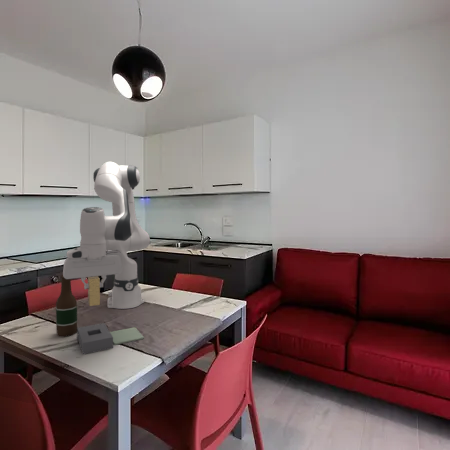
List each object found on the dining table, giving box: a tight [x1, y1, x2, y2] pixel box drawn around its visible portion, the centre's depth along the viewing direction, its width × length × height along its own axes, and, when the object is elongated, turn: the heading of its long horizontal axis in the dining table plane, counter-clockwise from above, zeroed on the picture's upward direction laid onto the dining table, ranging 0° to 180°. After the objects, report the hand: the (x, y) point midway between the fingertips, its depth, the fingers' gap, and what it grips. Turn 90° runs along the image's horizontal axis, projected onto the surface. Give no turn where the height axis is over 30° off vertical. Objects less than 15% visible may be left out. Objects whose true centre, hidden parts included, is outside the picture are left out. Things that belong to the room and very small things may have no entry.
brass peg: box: [87, 276, 101, 307], centre depth 117 cm, size 4×4×10 cm
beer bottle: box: [55, 274, 78, 338], centre depth 126 cm, size 8×8×24 cm
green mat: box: [109, 326, 145, 346], centre depth 124 cm, size 12×11×1 cm
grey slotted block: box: [76, 322, 114, 355], centre depth 118 cm, size 16×10×4 cm, turn 32°
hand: (93, 288), depth 117 cm, fingers closed on brass peg, 3 cm apart
